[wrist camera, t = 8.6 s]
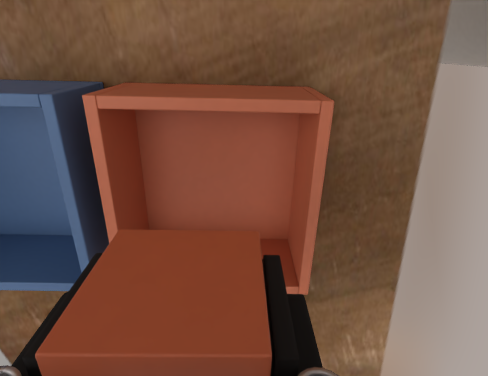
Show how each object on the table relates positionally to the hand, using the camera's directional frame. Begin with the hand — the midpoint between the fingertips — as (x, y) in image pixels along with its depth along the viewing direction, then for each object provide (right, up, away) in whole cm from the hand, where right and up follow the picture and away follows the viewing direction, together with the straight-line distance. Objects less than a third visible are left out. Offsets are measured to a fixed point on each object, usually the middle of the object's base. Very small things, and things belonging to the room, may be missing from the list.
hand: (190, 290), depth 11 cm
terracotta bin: (0, +5, +10) cm, 11 cm away
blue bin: (-12, +5, +10) cm, 17 cm away
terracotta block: (0, 0, 0) cm, 0 cm away
